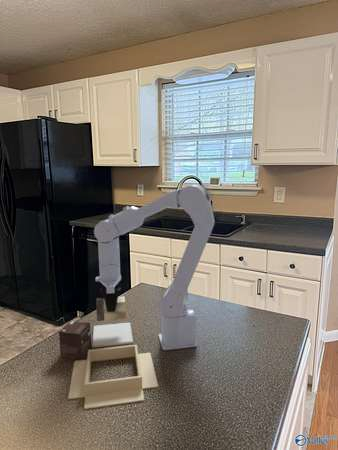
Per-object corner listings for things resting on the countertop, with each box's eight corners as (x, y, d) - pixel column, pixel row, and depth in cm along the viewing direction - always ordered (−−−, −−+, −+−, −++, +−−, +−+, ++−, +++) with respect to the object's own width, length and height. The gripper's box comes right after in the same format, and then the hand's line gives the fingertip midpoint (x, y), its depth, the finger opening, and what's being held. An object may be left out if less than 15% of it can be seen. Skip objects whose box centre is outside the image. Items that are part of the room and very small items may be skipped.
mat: (130, 324, 99) (130, 322, 99) (132, 343, 88) (132, 341, 88) (94, 327, 97) (93, 325, 96) (92, 347, 86) (92, 345, 86)
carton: (148, 346, 86) (148, 336, 86) (160, 398, 67) (160, 385, 66) (75, 354, 83) (75, 343, 82) (66, 411, 63) (65, 398, 63)
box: (81, 360, 80) (79, 334, 79) (60, 358, 81) (57, 331, 80) (92, 347, 86) (90, 322, 85) (71, 345, 87) (70, 320, 86)
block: (125, 312, 94) (124, 296, 93) (125, 318, 90) (125, 301, 89) (97, 314, 92) (96, 298, 92) (97, 321, 89) (96, 304, 88)
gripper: (95, 255, 95) (97, 298, 97) (93, 271, 81) (96, 320, 83) (119, 254, 96) (121, 296, 98) (121, 269, 82) (123, 318, 84)
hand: (111, 307), depth 91 cm, fingers closed on block, 4 cm apart
